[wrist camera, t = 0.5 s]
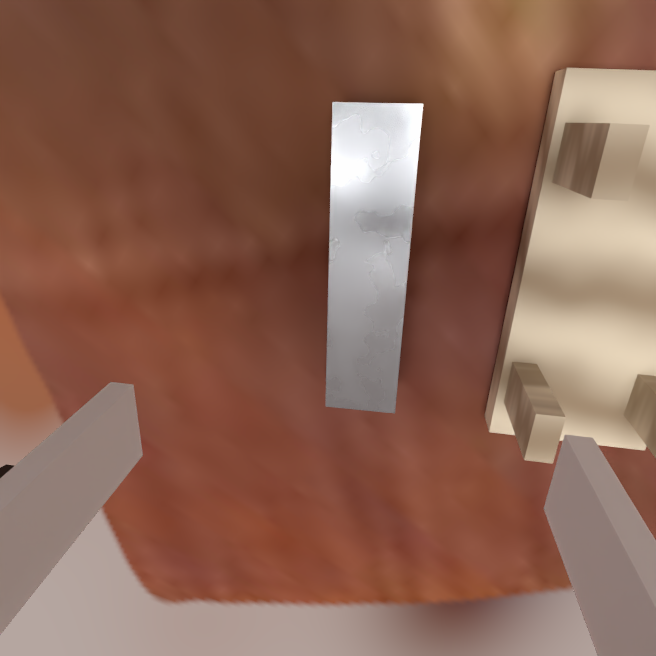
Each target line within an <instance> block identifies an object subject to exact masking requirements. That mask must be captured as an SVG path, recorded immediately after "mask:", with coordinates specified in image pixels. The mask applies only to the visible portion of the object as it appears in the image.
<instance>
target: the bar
mask: <svg viewBox="0 0 656 656" xmlns="http://www.w3.org/2000/svg"><path fill="white" fill-rule="evenodd" d="M422 111H423V104H409V103H357V102H333V105H332V148H331V192H330V235H329V278H328V322H327V365H326V406H327V407H337V408H346V409H356V410H366V411H376V412H386V413H395V407H396V396H397V385H398V374H399V363H400V352H401V341H402V330H403V319H404V308H405V297H406V286H407V275H408V264H409V253H410V242H411V231H412V220H413V210H414V199H415V188H416V177H417V166H418V155H419V144H420V133H421V122H422Z"/></svg>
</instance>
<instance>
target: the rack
mask: <svg viewBox="0 0 656 656" xmlns="http://www.w3.org/2000/svg"><path fill="white" fill-rule="evenodd" d="M485 419H486V423H487V426H488V430H489V432H493V433H501V434H510V435H515V436H516V438H517V441H518V444H519V447H520V450H521V452H522V455H523V458H524V460H528V461H536V462H545V463H553V461H554V457H555V454H556V450H557V447H558V443H559V440H560V441H563V439H564V436H565V435H574V436H582V437H591V438H593V439H594V440H595V442H596V444H597V445H603V446H611V447H620V448H628V449H637V450H645V449H646V446H647V447H648V448H649V450H650V451H651V452H652V454H653V455H654V456H655V458H656V71H653V70H622V69H590V68H565V69H562V70H559V71H556V72H555V77H554V81H553V86H552V91H551V96H550V101H549V106H548V111H547V115H546V120H545V125H544V130H543V135H542V140H541V145H540V149H539V154H538V159H537V164H536V169H535V174H534V179H533V183H532V188H531V193H530V198H529V203H528V208H527V213H526V217H525V222H524V227H523V232H522V237H521V242H520V246H519V251H518V256H517V261H516V266H515V271H514V276H513V280H512V285H511V290H510V295H509V300H508V305H507V310H506V314H505V319H504V324H503V329H502V334H501V339H500V344H499V348H498V353H497V358H496V363H495V368H494V373H493V378H492V382H491V387H490V392H489V397H488V402H487V407H486V412H485Z"/></svg>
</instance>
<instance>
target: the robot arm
mask: <svg viewBox="0 0 656 656" xmlns="http://www.w3.org/2000/svg"><path fill="white" fill-rule="evenodd" d="M142 456H143V453H142V446H141V439H140V431H139V424H138V416H137V409H136V401H135V394H134V386H133V385H132V384H123V383H115V382H110V383H109V384H108V385H107V386H106V387H105V388H103V389H102V390H101V391H100V392H99V393H98V394H96V395H95V396H94V397H93V398H92V399H91V400H90V401H88V402H87V403H86V404H85V405H84V406H83V407H82V408H80V409H79V410H78V411H77V412H76V413H75V414H74V415H72V416H71V417H70V418H69V419H68V420H67V421H66V422H64V423H63V424H62V425H61V426H60V427H59V428H58V429H57V430H56V431H54V432H53V433H52V434H51V435H50V436H48V437H47V438H46V439H45V440H44V441H43V442H42V443H40V444H39V445H38V446H37V447H36V448H35V449H33V450H32V451H31V452H30V453H29V454H28V455H27V456H25V457H24V458H23V459H22V460H21V461H20V462H19V463H18V464H16V465H15V466H12V465H5V466H3V467H1V468H0V635H1V633H2V632H3V631H4V629H5V628H6V627H7V626H8V624H9V623H10V622H11V621H12V619H13V618H14V617H15V616H16V614H17V613H18V612H19V611H20V609H21V608H22V607H23V606H24V604H25V603H26V602H27V600H28V599H29V598H30V597H31V595H32V594H33V593H34V592H35V590H36V589H37V588H38V587H39V585H40V584H41V583H42V582H43V580H44V579H45V578H46V577H47V575H48V574H49V573H50V572H51V570H52V569H53V568H54V566H55V565H56V564H57V563H58V561H59V560H60V559H61V558H62V556H63V555H64V554H65V552H66V551H67V550H68V549H69V548H70V546H71V545H72V544H73V543H74V541H75V540H76V539H77V537H78V536H79V535H80V534H81V532H82V531H83V530H84V529H85V527H86V526H87V525H88V524H89V522H90V521H91V520H92V518H93V517H94V516H95V515H96V514H97V512H98V511H99V510H100V509H101V507H102V506H103V505H104V503H105V502H106V501H107V500H108V498H109V497H110V496H111V495H112V493H113V492H114V491H115V490H116V488H117V487H118V486H119V485H120V483H121V482H122V481H123V480H124V478H125V477H126V476H127V475H128V473H129V472H130V471H131V469H132V468H133V467H134V466H135V464H136V463H137V462H138V461H139V459H140V458H141V457H142ZM544 511H545V513H546V516H547V519H548V522H549V524H550V527H551V530H552V533H553V535H554V538H555V541H556V543H557V546H558V549H559V552H560V554H561V557H562V560H563V562H564V565H565V568H566V571H567V573H568V576H569V579H570V582H571V584H572V587H573V590H574V592H575V595H576V598H577V600H578V603H579V606H580V609H581V611H582V614H583V617H584V620H585V622H586V624H587V628H588V630H589V633H590V636H591V639H592V641H593V644H594V647H595V650H596V652H597V655H598V656H656V540H655V539H654V537H653V535H652V534H651V532H650V531H649V529H648V527H647V526H646V524H645V522H644V521H643V519H642V517H641V516H640V514H639V512H638V511H637V509H636V508H635V506H634V504H633V503H632V501H631V499H630V498H629V496H628V494H627V493H626V491H625V489H624V488H623V486H622V485H621V483H620V481H619V480H618V478H617V476H616V475H615V473H614V471H613V470H612V468H611V467H610V465H609V463H608V462H607V460H606V458H605V457H604V455H603V453H602V452H601V450H600V448H599V447H598V445H597V444H596V442H595V440H594V439H593V438H591V437H582V436H574V435H565V436H564V439H563V443H562V446H561V450H560V453H559V457H558V460H557V464H556V467H555V471H554V474H553V478H552V481H551V485H550V488H549V492H548V495H547V499H546V503H545V506H544Z"/></svg>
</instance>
